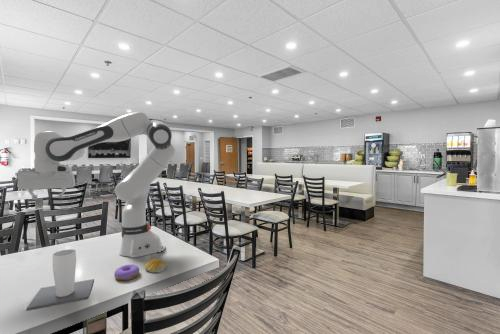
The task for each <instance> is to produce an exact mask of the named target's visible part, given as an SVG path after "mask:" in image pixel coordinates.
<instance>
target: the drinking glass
mask: <svg viewBox="0 0 500 334" xmlns="http://www.w3.org/2000/svg"><path fill="white" fill-rule="evenodd" d="M76 268H77V251H76V249H74V248H73V249H71V248H69V249H63V250H60V251H56V252H54V253H52V272H53V280H54V286H55V289H56V296H57V297H65V296H68V295H70V294H72V293H73V292H74V282H76V281H75V279H76Z"/></svg>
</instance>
